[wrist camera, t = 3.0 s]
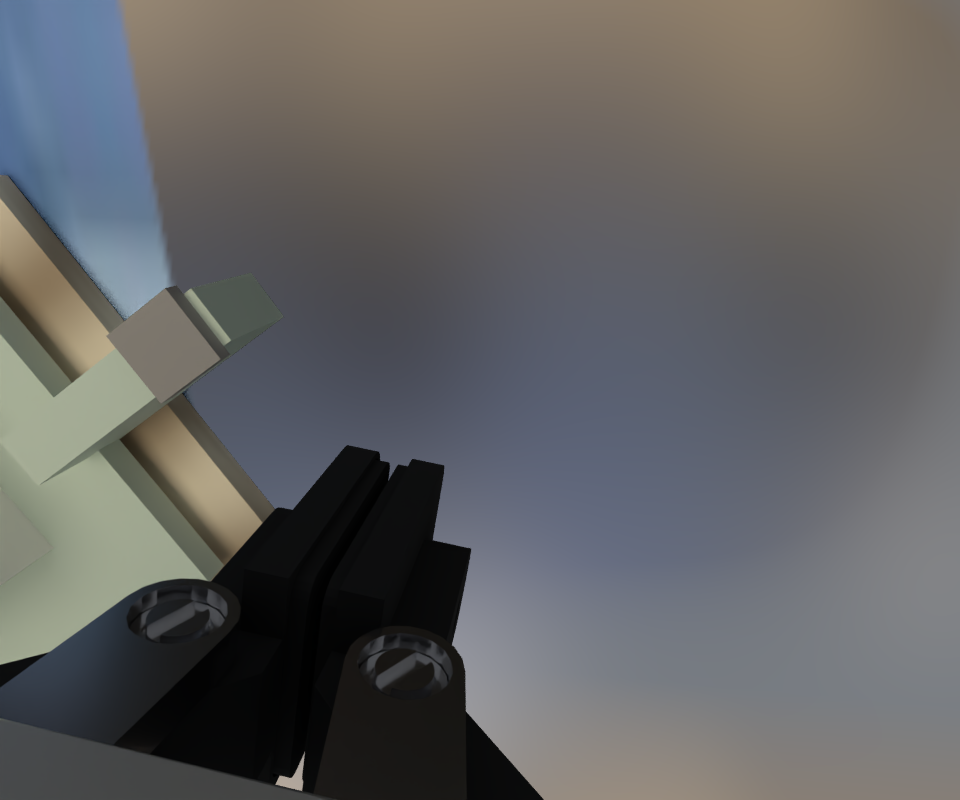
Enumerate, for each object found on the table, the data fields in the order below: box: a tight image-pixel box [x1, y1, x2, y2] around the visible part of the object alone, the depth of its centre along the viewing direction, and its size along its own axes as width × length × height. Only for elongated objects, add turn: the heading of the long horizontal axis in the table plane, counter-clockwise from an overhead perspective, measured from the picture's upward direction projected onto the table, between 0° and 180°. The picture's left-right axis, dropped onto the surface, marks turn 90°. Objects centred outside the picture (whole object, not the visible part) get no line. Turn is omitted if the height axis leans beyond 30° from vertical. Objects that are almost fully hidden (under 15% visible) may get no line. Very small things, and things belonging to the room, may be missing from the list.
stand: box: [0, 175, 275, 581], centre depth 28 cm, size 18×18×2 cm
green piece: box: [0, 273, 284, 665], centre depth 24 cm, size 14×22×5 cm, turn 125°
